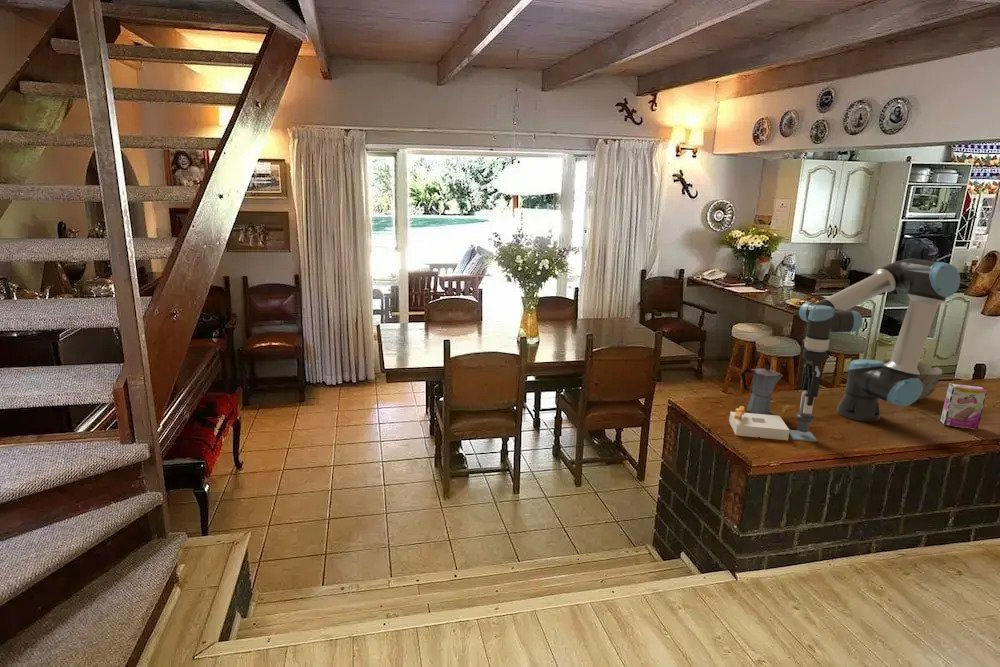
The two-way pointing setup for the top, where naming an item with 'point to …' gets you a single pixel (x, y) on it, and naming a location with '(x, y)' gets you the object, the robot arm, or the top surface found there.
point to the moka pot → (761, 389)
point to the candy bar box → (963, 406)
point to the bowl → (927, 378)
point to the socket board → (759, 426)
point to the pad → (802, 436)
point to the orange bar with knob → (739, 412)
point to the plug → (803, 416)
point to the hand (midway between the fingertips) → (805, 410)
